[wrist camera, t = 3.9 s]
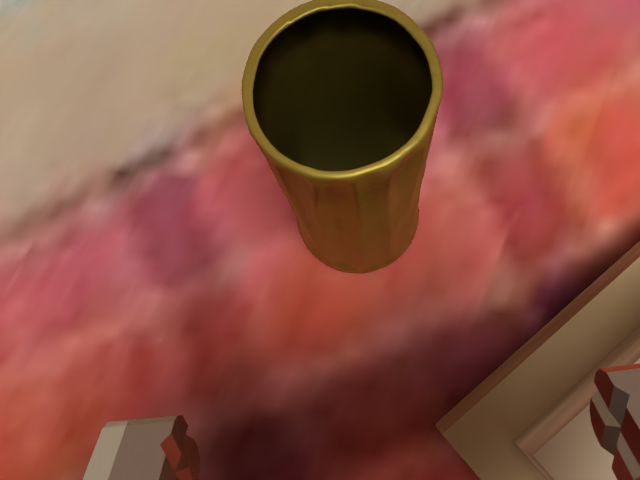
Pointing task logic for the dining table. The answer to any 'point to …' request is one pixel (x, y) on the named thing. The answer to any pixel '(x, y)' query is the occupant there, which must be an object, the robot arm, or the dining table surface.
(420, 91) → the vase
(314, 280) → the dining table surface
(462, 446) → the pedestal
